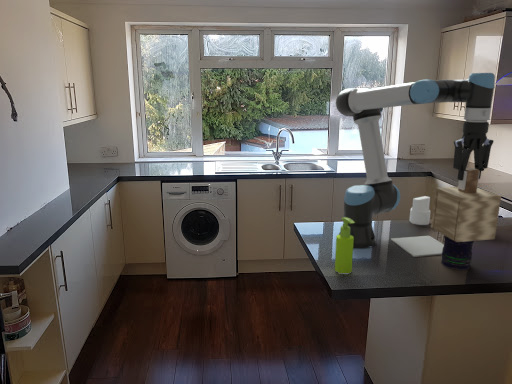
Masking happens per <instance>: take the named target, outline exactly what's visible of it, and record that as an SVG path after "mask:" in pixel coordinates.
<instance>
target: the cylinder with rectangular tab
mask: <svg viewBox="0 0 512 384" xmlns="http://www.w3.org/2000/svg"><path fill="white" fill-rule="evenodd" d="M430 201H431V197H430V196H426V195H423V196H418V197H414V198H413V199H412V207H411V208H410V211H409V212H410V213H409V223H411V224H414V225H417V226H427V225H430V220H431V212H432V211H431V210H430Z"/></svg>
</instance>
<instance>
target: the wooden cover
mask: <svg viewBox="0 0 512 384" xmlns="http://www.w3.org/2000/svg"><path fill="white" fill-rule="evenodd" d="M465 171H467V178H466V186H465V190H461V189H458V185H457V186H443V187H441V186H440V187H435V193H434V200H433V201H434V202H433V208H432V218H431V219H432V220H431V221H432V222H431V229H433V230H435V231H436V232H438V233H440V234H442V235H443V236H444V235H445V236H447V237H449V238H450V239H452V240H455V241H456V242H465V241H474V242H475V241H485V240H489V241H490V240H495V239H496V233H497V227H498V220H499V214H500V213H499V212H500V208H501V200H502V195H501V194H497V193H495V192H491V191H489V190H486V189H483V188H480V187H478V188H477V184H478V185H479V180H478V177H479V170H478V169H475V167H466V170H465Z"/></svg>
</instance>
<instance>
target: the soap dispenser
mask: <svg viewBox="0 0 512 384" xmlns="http://www.w3.org/2000/svg"><path fill="white" fill-rule="evenodd" d="M340 219H341V220H342V222H343V223H342V225H343V226H342V225H341V226H340V230H339V233H340V234H339V233H338V234H337V235H336V237H335V259H334V272H335V271H337V272H339V273H350V272H352V273H353V254H354V248H353V241H354V237H353V236H352V235H350V227H349V226H348V223H349V224H353V223H355V222H354V221H353V220H352V219H350V218H347V217H344V216H343V217H341V218H340Z"/></svg>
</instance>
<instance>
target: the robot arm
mask: <svg viewBox="0 0 512 384" xmlns="http://www.w3.org/2000/svg"><path fill="white" fill-rule="evenodd" d="M495 81H496V76H495V74H494V73H493V72H472V73H470V74H469V76H468V79H429V78H428V79H420V80H417V81H414V82H407V83H401V84H399V83H398V84H394V85H388V86H387V85H386V86H381V87H353V88H352V87H350V88H344V89H343V90H342V91H340V92H339V93H338V94H337V96H336V99H335V107H336V110H337V111H338V113H340V114H341V115H343V116H346V117H352V120H353V123H354V124H355V125H357V127H358V132H359V138H360V144H361V152H362V156H363V161H364V168H365V169H364V170H365V174H366V175H365V176H366V181H365V182H364V183H363V184H359V185H358V184H356V185H352V186H349V187H348V188H346V190H345V192H344V193H345V194H344V199H343V201H344V202H343V217H347V218H350V219H352V220H353V221H354V222H355V223H353V224H349V223H348V226H349V227H350V235H352V236H353V237H354V241H353V249H367V248H371V247H373V246H374V245H376V235H375V231H374V228H373V217H374V216H376V215H380V214H383V213H389V212H391V211H392V210H394V209H396V208H397V207H398V205H399V203H400V202H401V193H400V192H401V191H400V189H399V188H398V187H397V186H396V185H395V184H393V179H392V178H390V177H389V176H388V171H387V165H386V158H385V152H384V147H383V140H382V134H381V129H380V123H379V121H380V120H381V118H382V112H383V111H384V109H385V108H393V107H404V106H413V105H425V104H439V103H441V104H442V103H465V109H464V114H463V119H464V120H465V121H463V124H462V125H463V126H462V133H463V134H462V136H461V138H460V139H458V140H457V139H455V140H454V141H453V144H454V155H453V167H452V168H453V169H455V170H457V180H458V184H457V186H458V189H461V190H465V186H466V178H467V171H465V170H466V168H468V166H467V165H468V162H469V160H470V156H471V154H472V152H473V158H474V159H473V161H474V164H473V165H474V169H478V170H479V177H478V181H479V180H480V179H481V176H482V172H484V171H485V169H488V167H489V162H490V161H489V160H490V155H491V151H492V150H491V149H492V146H493V144H494V140H493V139H490V138H488V137H487V134H488V132H489V128H490V127H489V125H490V123H489V121H490V117H491V113H492V112H491V111H492V101H493V97H494V90H495V87H496V86H495V83H496V82H495ZM477 188H479V183H478V184H477ZM341 226H343V224H342V225H341ZM339 234H340V232H339V233H338V235H339Z"/></svg>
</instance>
